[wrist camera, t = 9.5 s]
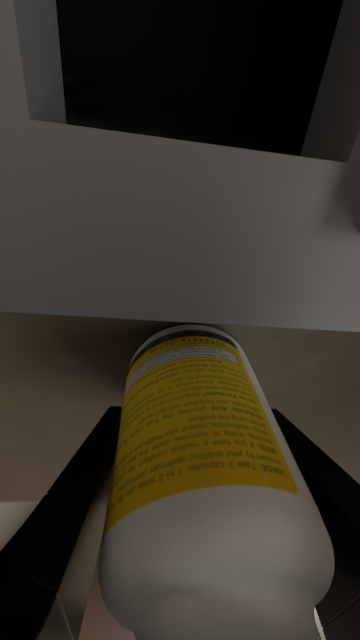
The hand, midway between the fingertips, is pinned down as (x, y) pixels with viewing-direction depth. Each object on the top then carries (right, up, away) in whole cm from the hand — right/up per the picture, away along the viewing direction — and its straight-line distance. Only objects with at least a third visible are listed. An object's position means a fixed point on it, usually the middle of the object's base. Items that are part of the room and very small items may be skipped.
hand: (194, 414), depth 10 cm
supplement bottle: (0, +1, +2) cm, 3 cm away
